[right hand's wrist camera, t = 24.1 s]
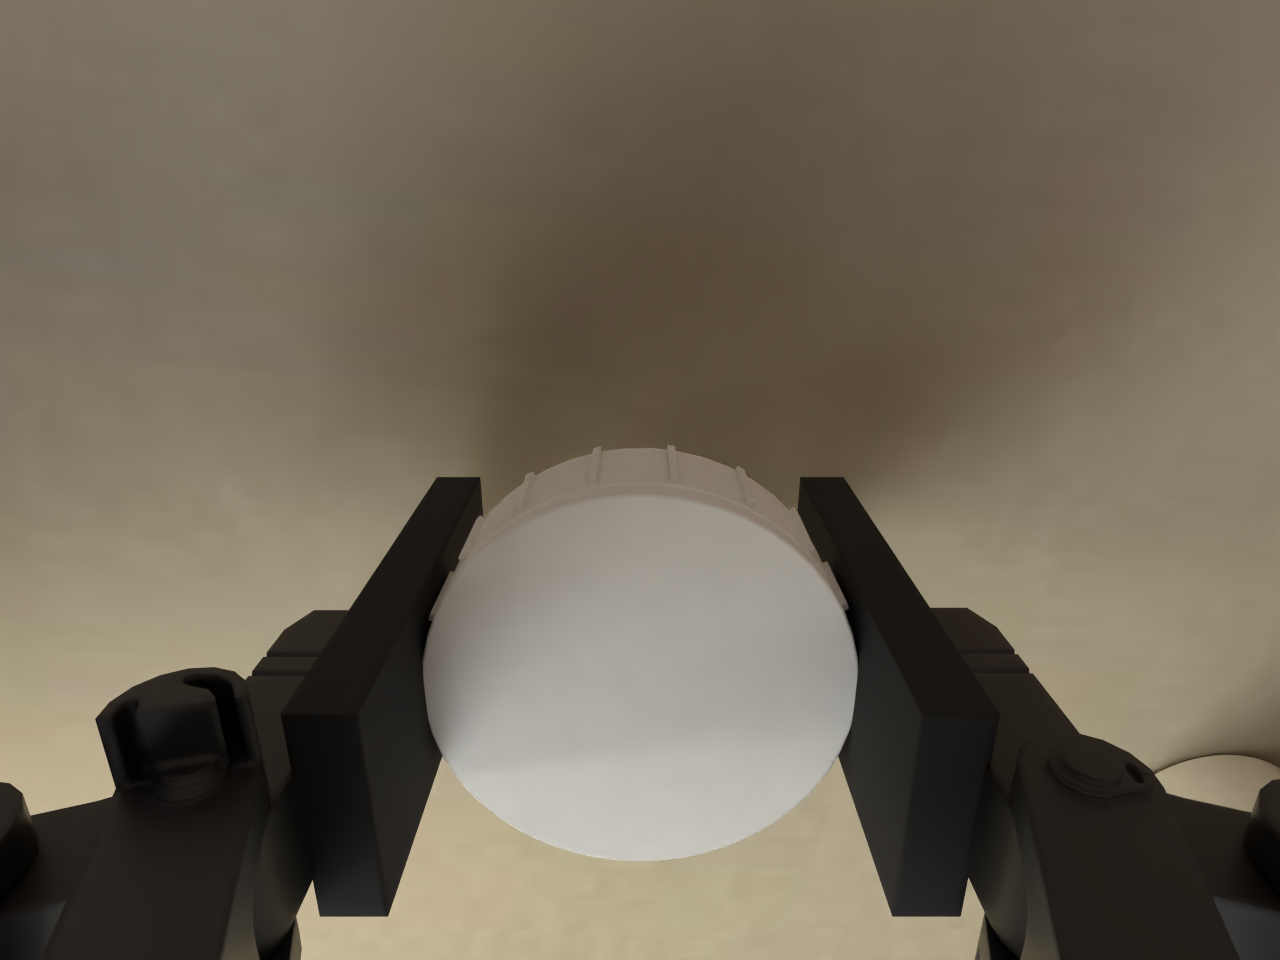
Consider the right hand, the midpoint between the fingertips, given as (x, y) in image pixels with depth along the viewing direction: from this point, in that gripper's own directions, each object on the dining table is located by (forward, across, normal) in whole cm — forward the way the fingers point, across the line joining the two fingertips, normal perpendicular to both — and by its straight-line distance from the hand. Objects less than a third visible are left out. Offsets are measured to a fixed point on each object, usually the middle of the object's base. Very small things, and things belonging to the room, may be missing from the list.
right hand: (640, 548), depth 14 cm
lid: (-4, 0, 0) cm, 4 cm away
